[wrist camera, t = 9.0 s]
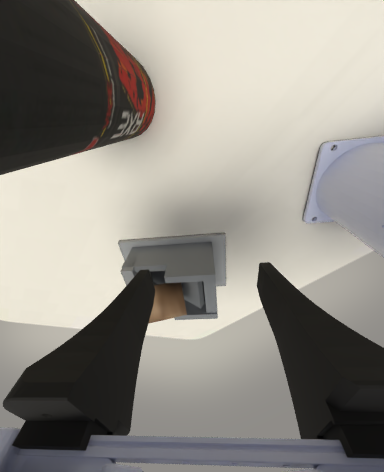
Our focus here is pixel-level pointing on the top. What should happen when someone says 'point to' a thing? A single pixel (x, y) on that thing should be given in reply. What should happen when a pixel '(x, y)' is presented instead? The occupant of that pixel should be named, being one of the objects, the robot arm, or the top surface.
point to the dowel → (168, 302)
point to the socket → (181, 267)
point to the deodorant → (64, 84)
